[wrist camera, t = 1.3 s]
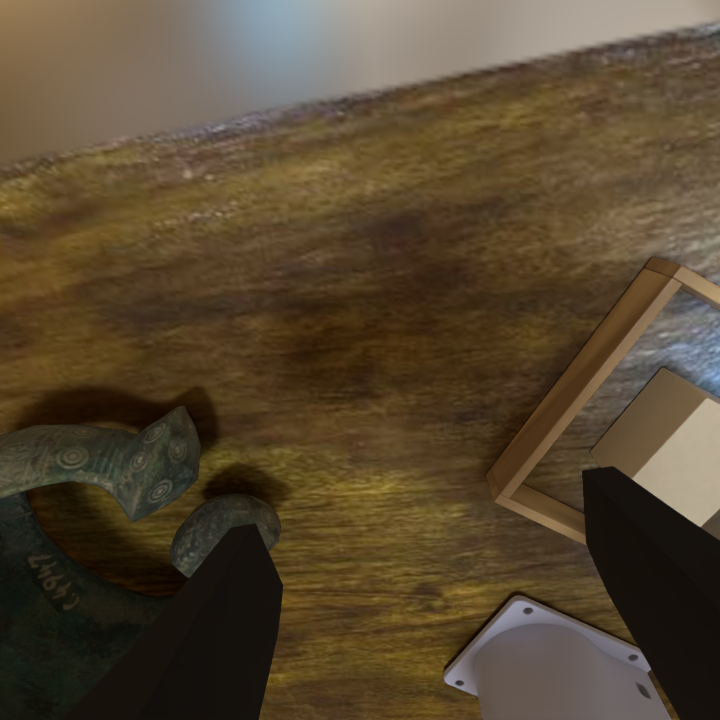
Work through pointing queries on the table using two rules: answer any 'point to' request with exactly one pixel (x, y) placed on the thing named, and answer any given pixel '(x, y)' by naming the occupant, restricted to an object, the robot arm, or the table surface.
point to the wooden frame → (589, 394)
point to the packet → (669, 445)
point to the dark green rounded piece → (78, 583)
